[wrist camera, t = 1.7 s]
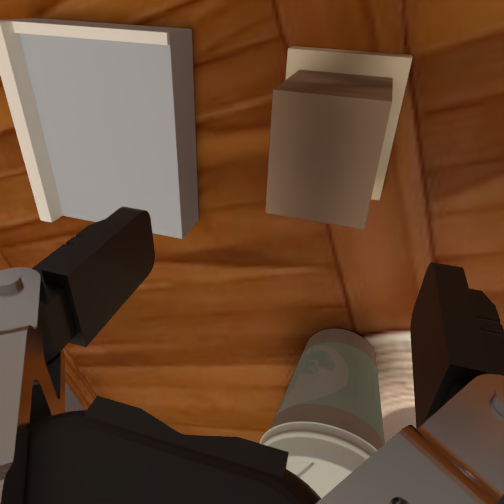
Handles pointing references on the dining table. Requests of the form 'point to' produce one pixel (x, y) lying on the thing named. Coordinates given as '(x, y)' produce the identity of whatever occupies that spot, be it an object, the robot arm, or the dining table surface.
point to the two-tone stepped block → (333, 133)
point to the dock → (104, 118)
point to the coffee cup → (330, 410)
